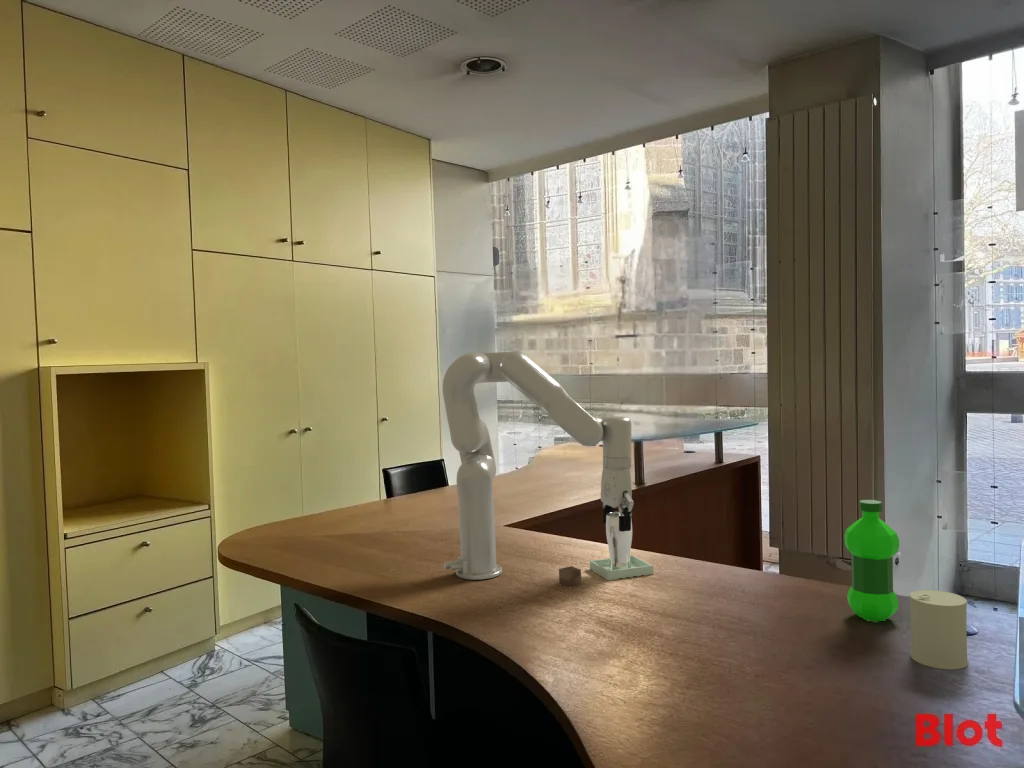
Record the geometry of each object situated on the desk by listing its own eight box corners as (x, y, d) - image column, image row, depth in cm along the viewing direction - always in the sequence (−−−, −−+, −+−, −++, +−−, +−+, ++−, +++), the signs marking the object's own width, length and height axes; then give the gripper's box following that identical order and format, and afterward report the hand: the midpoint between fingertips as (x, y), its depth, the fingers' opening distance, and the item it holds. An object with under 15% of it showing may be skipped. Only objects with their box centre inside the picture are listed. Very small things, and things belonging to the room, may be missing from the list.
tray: (607, 580, 189) (607, 571, 189) (590, 569, 200) (589, 560, 200) (653, 574, 193) (653, 565, 193) (633, 563, 204) (633, 555, 204)
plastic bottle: (898, 629, 149) (896, 508, 149) (842, 621, 155) (840, 504, 154) (902, 614, 158) (900, 499, 157) (849, 607, 164) (846, 495, 163)
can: (899, 651, 139) (898, 588, 139) (945, 647, 140) (944, 585, 140) (931, 671, 130) (930, 604, 130) (980, 667, 131) (979, 601, 130)
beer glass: (632, 574, 192) (631, 517, 192) (606, 573, 194) (604, 517, 193) (634, 566, 199) (632, 511, 199) (608, 565, 201) (606, 511, 200)
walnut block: (568, 588, 184) (568, 572, 184) (559, 584, 188) (558, 568, 188) (581, 585, 187) (580, 569, 186) (571, 581, 190) (571, 566, 190)
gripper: (590, 459, 203) (590, 520, 203) (618, 468, 186) (618, 535, 187) (615, 458, 205) (615, 519, 205) (645, 467, 188) (644, 533, 189)
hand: (616, 526), depth 196 cm, fingers open, 9 cm apart
